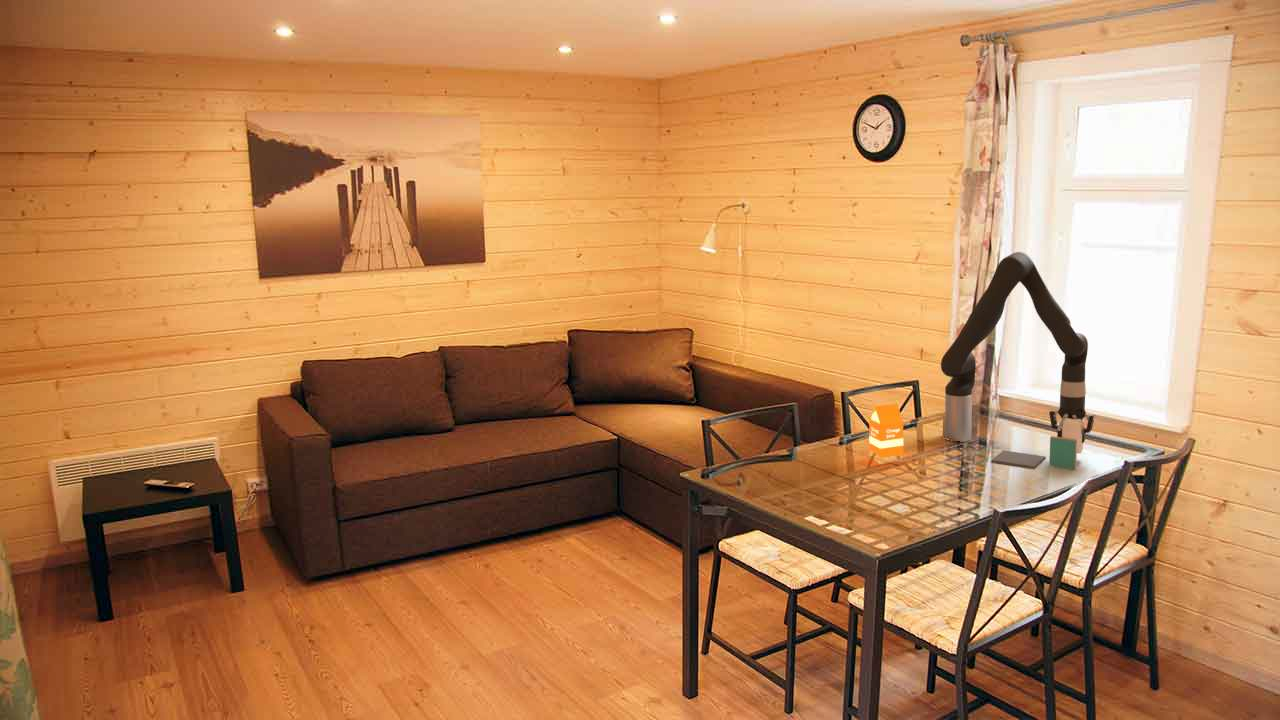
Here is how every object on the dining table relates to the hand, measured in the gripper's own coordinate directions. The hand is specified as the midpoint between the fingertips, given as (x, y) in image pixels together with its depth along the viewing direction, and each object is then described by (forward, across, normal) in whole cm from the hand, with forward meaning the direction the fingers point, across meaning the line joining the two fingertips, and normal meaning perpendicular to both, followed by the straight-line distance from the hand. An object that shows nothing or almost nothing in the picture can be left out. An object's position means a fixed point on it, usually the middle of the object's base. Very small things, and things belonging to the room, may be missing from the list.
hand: (1070, 442), depth 302 cm
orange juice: (+6, -52, -30) cm, 60 cm away
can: (+3, 0, 0) cm, 3 cm away
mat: (+6, -14, -9) cm, 18 cm away
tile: (+6, 0, -9) cm, 11 cm away
